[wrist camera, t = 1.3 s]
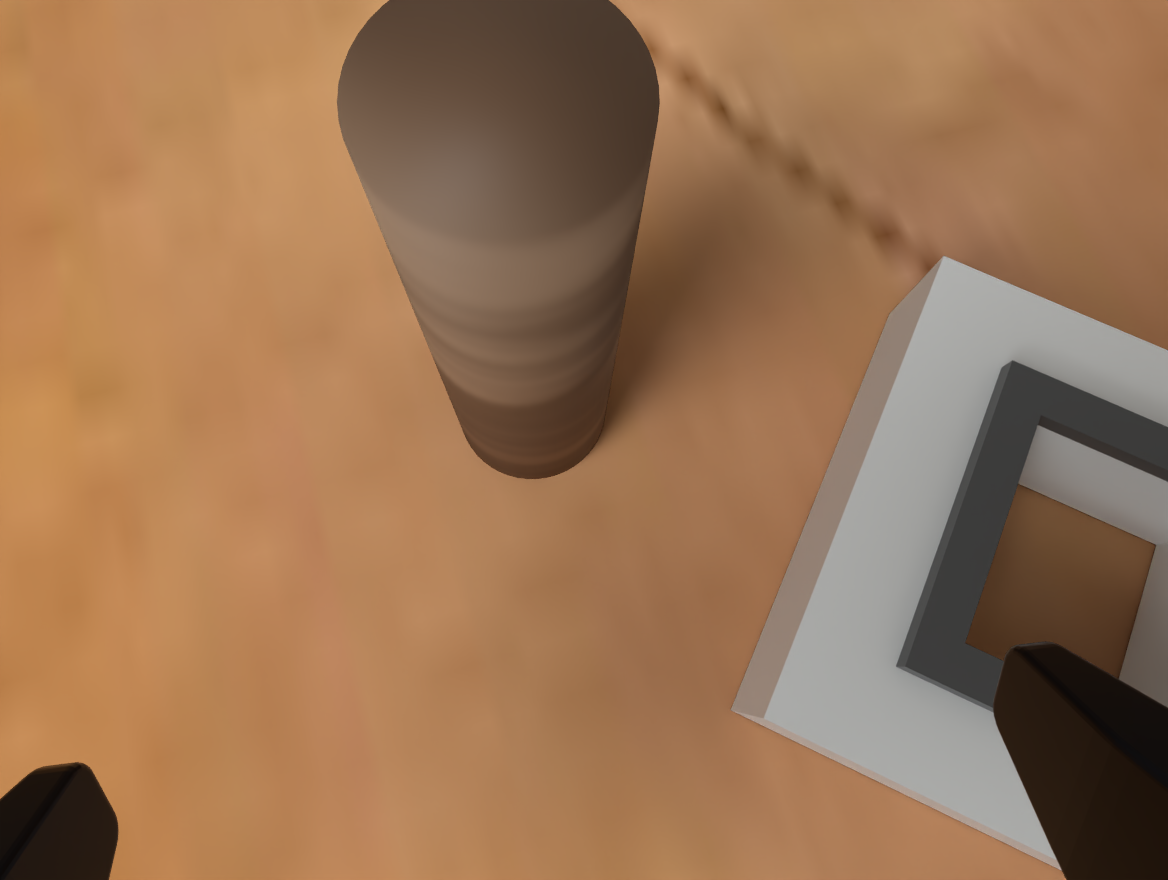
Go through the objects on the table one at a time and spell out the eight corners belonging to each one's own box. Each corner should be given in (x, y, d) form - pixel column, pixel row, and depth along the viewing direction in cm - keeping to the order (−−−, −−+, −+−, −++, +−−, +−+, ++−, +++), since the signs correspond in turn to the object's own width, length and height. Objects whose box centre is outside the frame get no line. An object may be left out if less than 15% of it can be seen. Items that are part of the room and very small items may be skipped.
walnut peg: (567, 503, 22) (575, 290, 10) (433, 440, 23) (276, 158, 10) (628, 375, 23) (709, 34, 11) (500, 318, 24) (432, -80, 11)
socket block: (1192, 933, 20) (1345, 998, 16) (730, 710, 21) (769, 720, 17) (1297, 489, 23) (1447, 453, 19) (889, 313, 24) (952, 245, 20)
